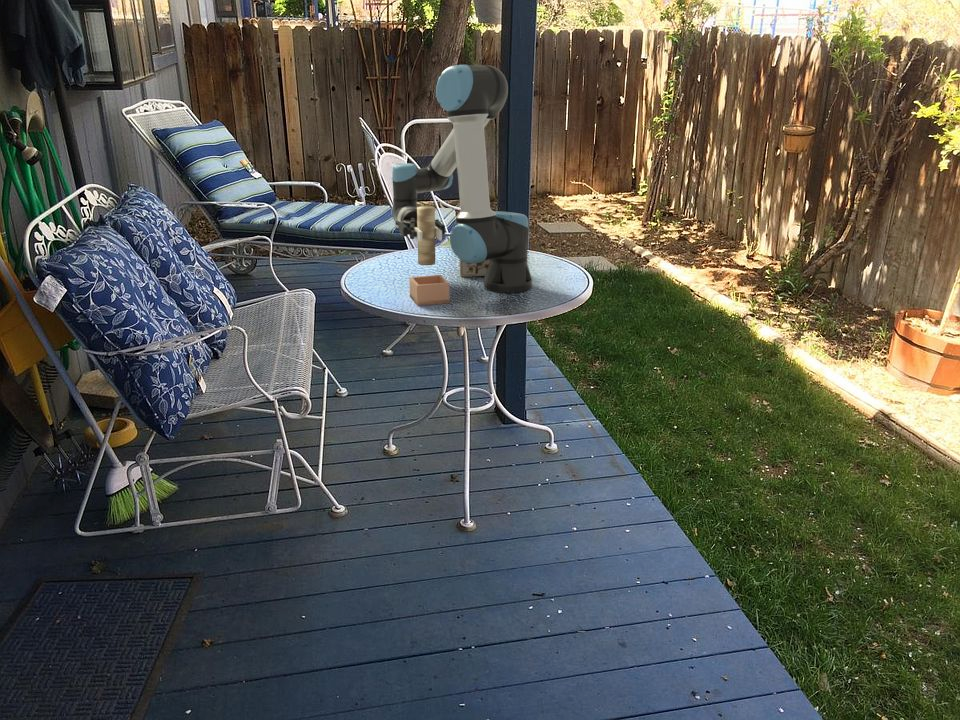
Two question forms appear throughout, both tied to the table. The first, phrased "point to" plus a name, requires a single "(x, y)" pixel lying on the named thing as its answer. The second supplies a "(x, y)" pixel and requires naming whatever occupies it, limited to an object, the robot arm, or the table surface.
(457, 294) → the table surface
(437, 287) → the box
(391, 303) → the table surface
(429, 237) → the peg
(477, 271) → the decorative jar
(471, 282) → the table surface
